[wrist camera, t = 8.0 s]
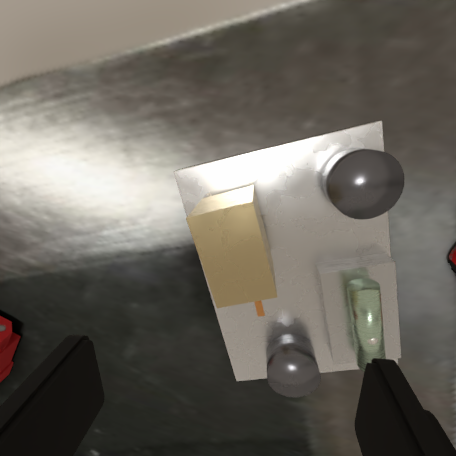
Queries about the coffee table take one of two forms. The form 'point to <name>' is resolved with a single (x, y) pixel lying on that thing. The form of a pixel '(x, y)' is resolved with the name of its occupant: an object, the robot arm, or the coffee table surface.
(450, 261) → the race car
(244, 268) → the wooden rectangular block
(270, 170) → the levelling base
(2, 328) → the radio
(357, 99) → the coffee table surface
